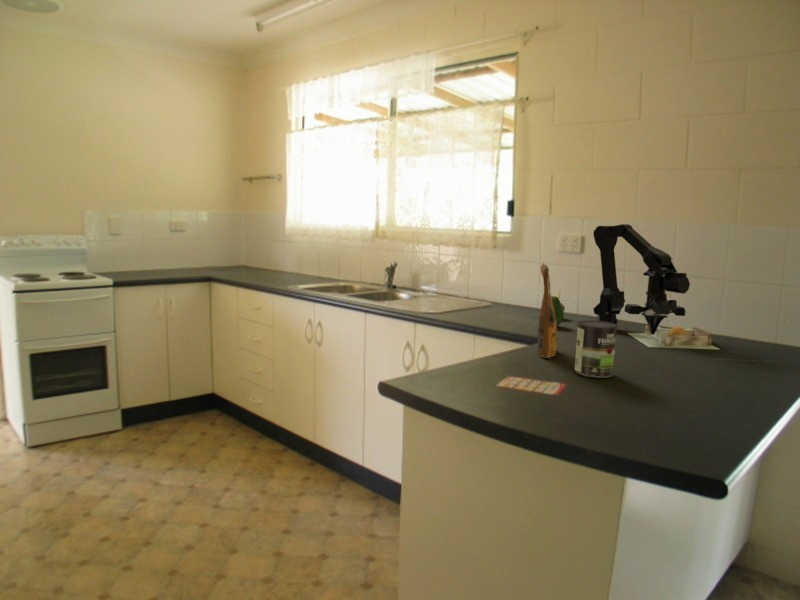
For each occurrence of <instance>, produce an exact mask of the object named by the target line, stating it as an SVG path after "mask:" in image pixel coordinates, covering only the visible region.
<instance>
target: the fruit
mask: <svg viewBox="0 0 800 600" xmlns="http://www.w3.org/2000/svg"><path fill="white" fill-rule="evenodd" d="M551 298H552V303H553V308H554V313H555V319H556V326H557V327H558V326H560V325H561V324H562V322H563V320H564V316H565V313H564V312H565V311H563V308H562V305H561V304H562V303H561V300H560V298H559V299H558V296H554V295H553V296H552V295H551Z"/></svg>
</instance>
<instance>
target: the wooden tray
mask: <svg viewBox="0 0 800 600" xmlns="http://www.w3.org/2000/svg"><path fill="white" fill-rule="evenodd" d="M664 329H665V330H666V331H668V332H669V337H666V338H665V347H670V346H673V345H700V346H711V345H712V340H713V338H712V337H713V334H712V333H711V332H708V331H706V330H703V329H701V328H699V327H697V326H692V328H691V329H690V328H689V329H684V328H683V329H684V330H685V333H686V335H685V336H684V335H673V336H670V330H671V329H672V328H664ZM643 334H645V335H650V336H651V333H650V330H649V326H648V325H645V326H644V333H643Z"/></svg>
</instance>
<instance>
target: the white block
mask: <svg viewBox="0 0 800 600" xmlns="http://www.w3.org/2000/svg"><path fill="white" fill-rule="evenodd" d="M665 329H666V328H663V327H660V326H658V328H657V330H656V332H655V334H654V335H653V334H651V337H653V338H654V339H656V340H658V341H660V342H665V338H666V337H669V332H668V331H666V330H665Z"/></svg>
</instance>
